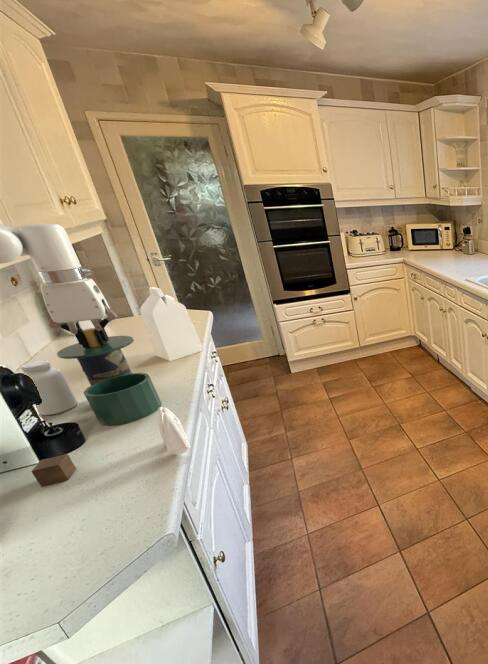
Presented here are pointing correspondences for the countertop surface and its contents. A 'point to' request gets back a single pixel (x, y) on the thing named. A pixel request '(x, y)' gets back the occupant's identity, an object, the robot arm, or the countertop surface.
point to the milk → (169, 326)
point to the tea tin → (123, 399)
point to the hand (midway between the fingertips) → (95, 344)
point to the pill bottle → (50, 387)
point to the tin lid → (94, 346)
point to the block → (54, 470)
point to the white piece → (172, 432)
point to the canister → (104, 366)
